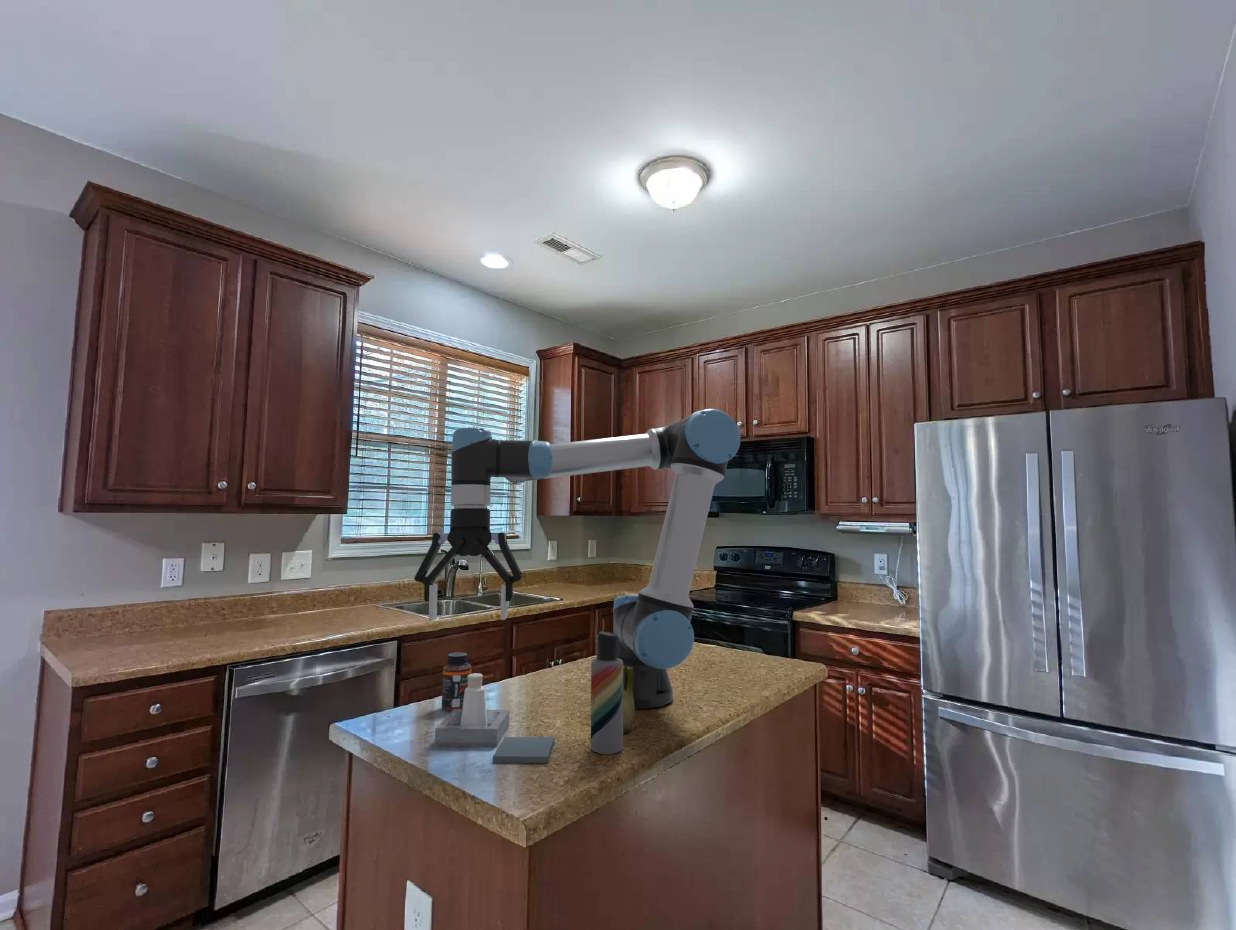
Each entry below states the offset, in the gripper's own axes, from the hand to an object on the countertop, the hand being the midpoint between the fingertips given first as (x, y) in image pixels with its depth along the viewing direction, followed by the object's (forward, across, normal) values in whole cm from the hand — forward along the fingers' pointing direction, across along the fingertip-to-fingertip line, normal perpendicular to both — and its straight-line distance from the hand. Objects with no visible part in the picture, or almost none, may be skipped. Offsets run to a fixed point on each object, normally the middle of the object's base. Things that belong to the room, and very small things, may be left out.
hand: (468, 619), depth 115 cm
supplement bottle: (+21, +6, -15) cm, 27 cm away
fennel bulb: (+21, -29, -1) cm, 36 cm away
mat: (+21, -12, +10) cm, 26 cm away
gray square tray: (+21, -2, +1) cm, 21 cm away
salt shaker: (+21, -2, +1) cm, 21 cm away
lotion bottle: (+21, -26, +8) cm, 35 cm away
